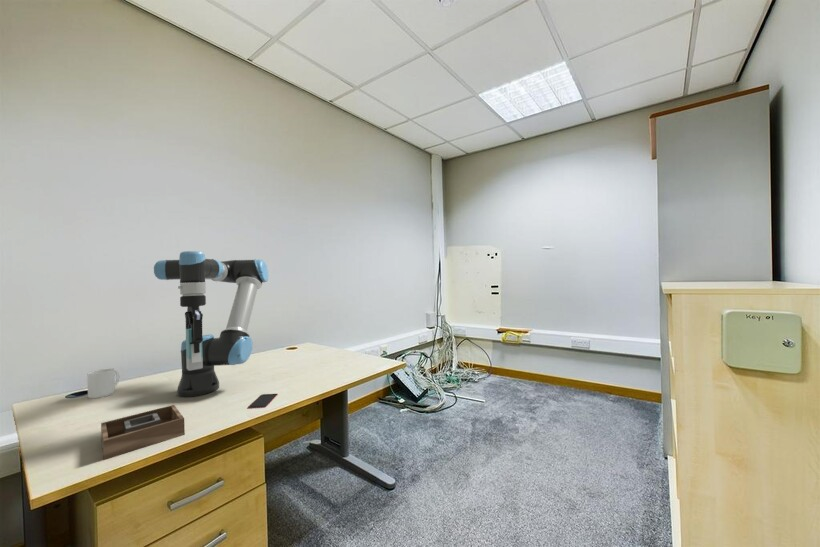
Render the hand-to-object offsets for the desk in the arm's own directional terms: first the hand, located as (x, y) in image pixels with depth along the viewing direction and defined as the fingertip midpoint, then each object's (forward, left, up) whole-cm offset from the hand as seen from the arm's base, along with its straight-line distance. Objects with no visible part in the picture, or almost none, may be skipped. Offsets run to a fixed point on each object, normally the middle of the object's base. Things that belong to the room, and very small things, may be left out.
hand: (194, 360), depth 114 cm
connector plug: (0, 0, -3) cm, 3 cm away
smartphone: (+6, +21, -19) cm, 29 cm away
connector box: (+7, -15, -19) cm, 25 cm away
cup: (-57, -21, -19) cm, 64 cm away
